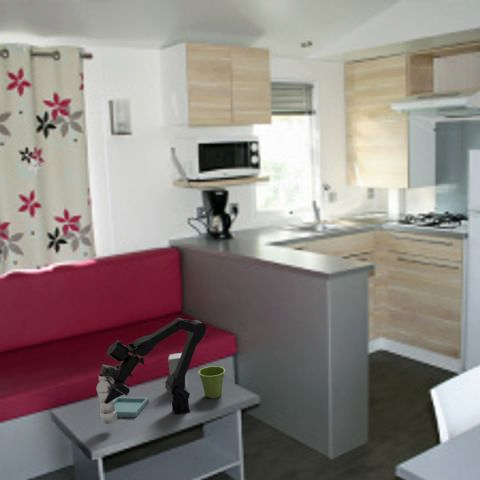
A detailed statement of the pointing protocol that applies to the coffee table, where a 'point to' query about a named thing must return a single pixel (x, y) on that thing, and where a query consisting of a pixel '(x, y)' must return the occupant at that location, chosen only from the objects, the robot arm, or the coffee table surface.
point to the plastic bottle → (106, 410)
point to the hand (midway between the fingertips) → (103, 400)
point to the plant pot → (212, 380)
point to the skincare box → (175, 365)
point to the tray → (129, 406)
